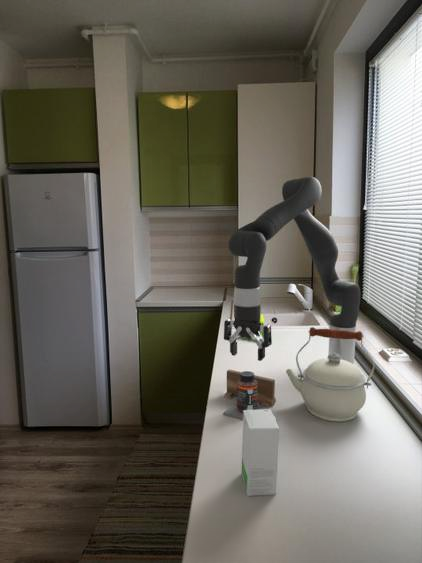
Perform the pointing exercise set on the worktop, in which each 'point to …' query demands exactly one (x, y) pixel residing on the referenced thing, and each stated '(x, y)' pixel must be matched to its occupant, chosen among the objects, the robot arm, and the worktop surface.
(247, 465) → the skincare box
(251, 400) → the supplement bottle
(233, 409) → the mat
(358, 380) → the kettle
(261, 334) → the fruit basket
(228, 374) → the wooden panel
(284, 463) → the worktop surface
